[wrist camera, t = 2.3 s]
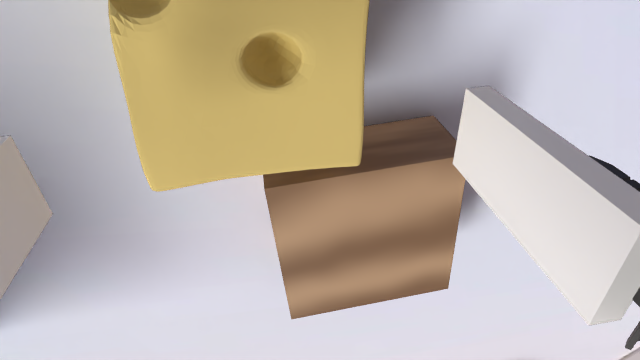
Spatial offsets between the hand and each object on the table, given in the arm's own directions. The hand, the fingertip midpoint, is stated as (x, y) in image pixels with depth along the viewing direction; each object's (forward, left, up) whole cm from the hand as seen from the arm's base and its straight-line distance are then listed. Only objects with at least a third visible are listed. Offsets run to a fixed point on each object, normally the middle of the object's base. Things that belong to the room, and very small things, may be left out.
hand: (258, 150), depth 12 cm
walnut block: (+14, +7, -15) cm, 22 cm away
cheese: (0, 0, -15) cm, 15 cm away
